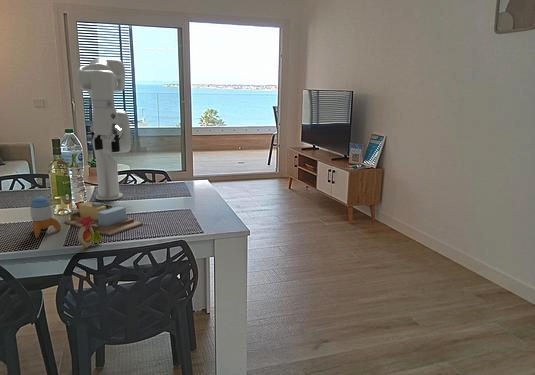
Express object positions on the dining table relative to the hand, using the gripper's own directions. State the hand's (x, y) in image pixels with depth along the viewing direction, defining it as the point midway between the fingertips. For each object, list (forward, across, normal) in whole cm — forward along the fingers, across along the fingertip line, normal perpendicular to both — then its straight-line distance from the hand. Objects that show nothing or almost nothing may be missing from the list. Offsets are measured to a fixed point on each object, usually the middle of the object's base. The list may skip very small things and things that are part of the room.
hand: (107, 150), depth 161 cm
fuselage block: (+30, +12, 0) cm, 32 cm away
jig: (+30, +6, 0) cm, 31 cm away
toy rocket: (+31, +17, +19) cm, 40 cm away
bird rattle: (+31, -10, +18) cm, 37 cm away
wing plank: (+30, 0, 0) cm, 30 cm away
